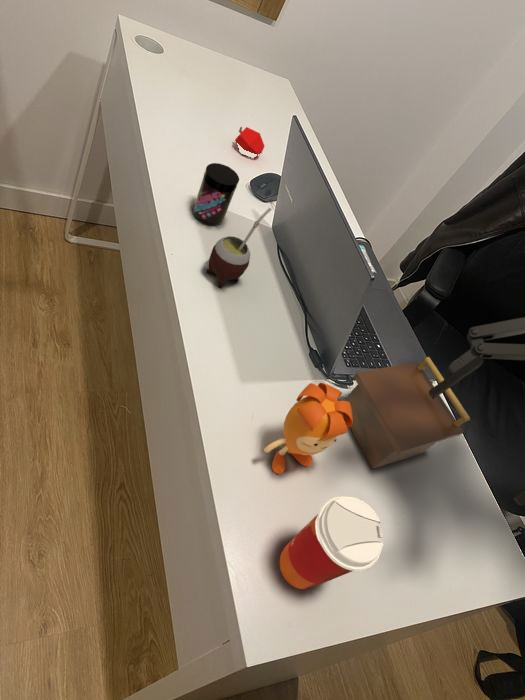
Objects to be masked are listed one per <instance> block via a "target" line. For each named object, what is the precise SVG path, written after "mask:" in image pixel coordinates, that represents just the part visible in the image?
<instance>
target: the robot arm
mask: <svg viewBox="0 0 525 700" xmlns="http://www.w3.org/2000/svg"><path fill="white" fill-rule="evenodd" d="M524 334H525V316H524V317H517V318H512V319H507V320H502V321H497V322H492V323H486V324H481V325H476V326H472V327H470V328H469V329H468V332H467V335H466V340H467V342H468V343H469V346H470V348H469V349H468V350H467V351H466V352H464V353H462V354H461V355H460V356H459V357H457V358H456V359H454V360H453V361H451V362H450V364H449V366H448V370H447V371H449V372H450V373H451V374H450V375H449V376H447V377H446V378H444V380H443V381H442V382H440V383H439V382H438V384H436V385H434V387H433V388H432V389H431V390H429V395H430V396H431V398H432V399H434V398H436V397H437V396H439V395H440V396H441V394H443V393H445V391H446V390H447V389H449V388H450V389H451V388H452V387H453V386H454V385H455V384H457V383H459V382H461V380H463V379H465V378H466V377H468V376H469V375H470V374H471V373H473V372H475V371H476V370H477V369H479V368H480V367H482V365H483V363H484V362H485V360H484V359H488V360H509V361H525V343H500V342H485V341H489V340H497V339H500V338H501V339H502V338H506V337H513V336H517V335H524ZM512 500H514V502H515V503H516V504H517V505H518V506H521V507H524V506H525V490H523V491H522V492H520V493H518V494H517V495H515V496H514V497H512Z"/></svg>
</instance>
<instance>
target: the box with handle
mask: <svg viewBox="0 0 525 700" xmlns="http://www.w3.org/2000/svg"><path fill="white" fill-rule="evenodd" d="M427 367H428V369H429V370H430V372H431V373H432V375H433V376H434V378H435V379H436V381H437V383H438V384H439V383H440V382H442V381H443V380H445V378H444V377H443V375H442V374H441V373H440V371H439V370H438V368H437V366H436V365H435V364H434V362H433V360H432V359H431V357H430V356H427V357H425V358H424V359H423V361H421V363H420V362H419V361H413V362H408V363H402V364H396V365H391V366H385V367H380V368H375V369H370V370H363V371H359V372H356V373H355V374H354V375H353V379H354V380H355V382H356V385H355V387H354V388H353V389H352V390H351V391H350V392H349V393H348V394H347V395H346V397H344V399H343V400H342V401H348V402H350V404H351V409H352V417H353V424H352V426H351V427H349V428H350V430H351V432H352V434H353V436H354V438H355V440H356V441H357V444H358V445H359V447H360V449H361V451H362V452H363V455H364V457H365V458H366V460H367V463H368V464H369V466H370V468H371V469H372V470H373V469H376V468H380V467H382V466H385V465H389V464H392V463H395V462H398V461H401V460H405V459H407V458H411V457H414V456H417V455H420V454H423V453H425V452H426V451H427V450H429V449H430V448H431V447H433V446H434V445H435V444H437V443H441V442H443V441H447V440H450V439H453V438H456V437H460V436H461V435H463V434H464V430H463V429H462V427H461V426H462V425H463V424H465V423H466V422H469V421H470V420H471V416H469V414H468V413H467V411H466V410H465V408H464V407H463V405H462V403H461V402H460V400H459V399H458V397H457V396H456V394H455V393H454V392H453V390H452V389H451V387H450V388H449V389H447V390H446V391H444V393H445V395H446V396H447V398H448V399H449V400H450V401H451V404H452V405H453V407H454V408H455V409H456V411H457V413H458V414H459V416H460V417H459V418H457V419H456V418H455V416H454V415H453V413H452V411H451V410H450V408H449V407H448V406H447V404H446V403H445V401H444V399H443V398H442V396H441V394H440V395H439V396H437V397H436V398H434V399H432V398H431V396H430V395H429V390H431V389H432V388H433V387H435V385H434V384H433V382H432V381H431V380H430V378H429V376H428V375H427V373H426V372H425V369H426V368H427Z"/></svg>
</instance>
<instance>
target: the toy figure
mask: <svg viewBox="0 0 525 700" xmlns="http://www.w3.org/2000/svg"><path fill="white" fill-rule="evenodd" d="M342 394H343V392H342V391H341V390H339V389H337V388H336V387H334V386H332V385H331V384H328V383H325V382H319V383H318V384H315V383H312V382H310V383H309V384H307V386H305V387H304V388H303V390H302V391H301V392H300V393H299V394H298V396H297V397H296V402H295V403H294V404H293V405H292V407H290V409H289V411H288V412H287V413H286V416H285V419H284V422H283V427H282V428H283V429H282V434H283V437H282V438H279V439H277V440H275V441H273V442H271V443H270V444H268V445H266V446H265V447H264V449H263V451H264V453H266V454H268V453H270V452H271V451H272V450H274V449H275V448H277V447H280V446H281V445H284V444H285V446H283V447H282V448H281V449H279V450H277V451H276V453H275V454H274V457H273V460H272V463H271V468H272V471H273V472H274V473H275V474H276V475H281V474H283V473H284V472H285V469H286V459H285V454H286V453H288V454H291V455H292V457H293V458H294V459H295V460H296V461H297V462H298V463H299V464H300V465H301V466H304V467H310V466H312V465H313V457H312V456H313V455H317V454H319V453H322V452H324V451H326V449H328V448H329V447H330V446H331V445H333V444H334V443H336V442H337V440H338V437H340V436H342V435H346V434H347V433H348V428H350V427H351V426H352V424H353V417H352V409H351V404H350V402H348V401H343V400H338V398H339V397H341V395H342Z"/></svg>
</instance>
